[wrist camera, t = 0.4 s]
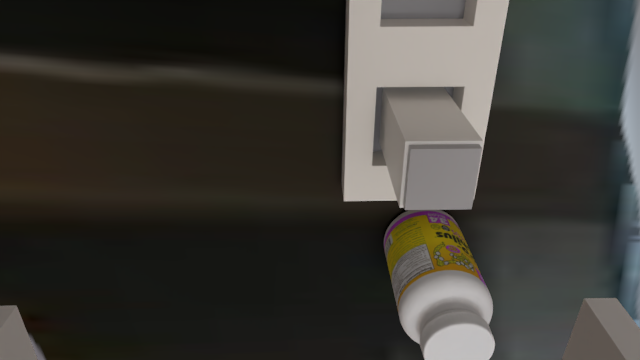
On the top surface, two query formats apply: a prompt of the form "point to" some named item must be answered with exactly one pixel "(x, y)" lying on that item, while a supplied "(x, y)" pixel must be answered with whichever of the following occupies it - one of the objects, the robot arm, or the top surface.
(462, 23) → the pdu strip
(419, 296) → the supplement bottle
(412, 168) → the twin plug
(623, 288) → the top surface
